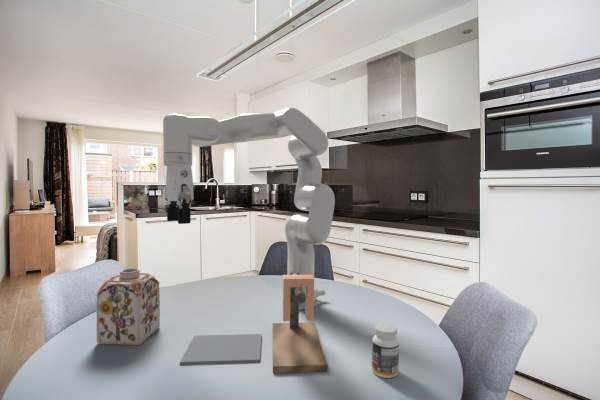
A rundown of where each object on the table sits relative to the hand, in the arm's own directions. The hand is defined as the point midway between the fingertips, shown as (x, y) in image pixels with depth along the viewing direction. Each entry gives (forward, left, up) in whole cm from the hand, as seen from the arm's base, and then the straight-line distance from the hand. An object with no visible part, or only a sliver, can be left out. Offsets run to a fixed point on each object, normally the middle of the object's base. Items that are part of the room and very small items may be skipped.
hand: (178, 222), depth 93 cm
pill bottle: (-35, +44, -31) cm, 65 cm away
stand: (-24, +24, -31) cm, 46 cm away
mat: (-8, +17, -31) cm, 36 cm away
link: (-22, +28, -22) cm, 42 cm away
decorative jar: (+12, -4, -31) cm, 33 cm away
